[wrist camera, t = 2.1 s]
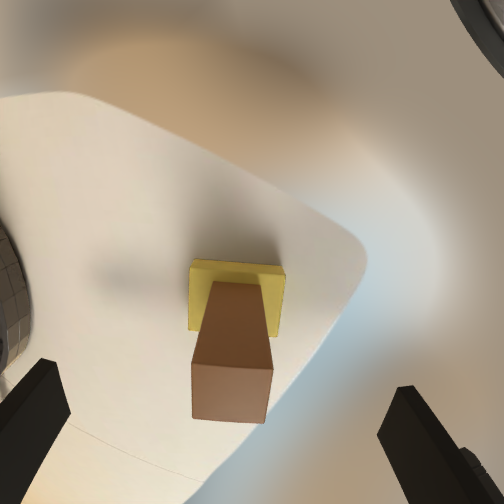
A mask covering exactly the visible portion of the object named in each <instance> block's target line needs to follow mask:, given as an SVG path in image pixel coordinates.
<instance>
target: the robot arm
mask: <svg viewBox="0 0 504 504" xmlns="http://www.w3.org/2000/svg"><path fill="white" fill-rule="evenodd" d="M478 2H479V4H480V6H481V8H482V10H483V11H484V13H485V15H486V17H487V18H488V20H489V22H490V23H491V25H492V26H493V28H494V29H495V31H496V32H497V34H498V35H499V36H500V38H501V39H502V40H503V42H504V0H478ZM70 414H71V412H70V409H69V406H68V403H67V399H66V396H65V393H64V389H63V386H62V382H61V379H60V375H59V371H58V367H57V363H56V362H54V361H50V360H47V359H43V358H41V359H40V360H39V361H38V362H37V363H36V364H35V365H34V366H33V367H32V368H31V369H30V371H29V372H28V373H27V374H26V375H25V376H24V377H23V378H22V379H21V381H20V382H19V383H18V384H17V385H16V386H15V387H14V388H13V390H12V391H11V392H10V393H9V394H8V395H7V396H6V398H5V399H4V400H3V401H2V402H1V403H0V504H20V503H21V501H22V500H23V498H24V496H25V494H26V492H27V490H28V488H29V486H30V484H31V482H32V480H33V479H34V477H35V475H36V473H37V471H38V469H39V468H40V466H41V464H42V462H43V460H44V459H45V457H46V455H47V453H48V451H49V450H50V448H51V446H52V444H53V443H54V441H55V439H56V438H57V436H58V434H59V432H60V431H61V429H62V427H63V426H64V424H65V422H66V421H67V419H68V417H69V416H70ZM377 437H378V439H379V441H380V443H381V445H382V447H383V449H384V451H385V453H386V455H387V458H388V459H389V462H390V464H391V466H392V468H393V470H394V472H395V475H396V477H397V479H398V481H399V483H400V485H401V488H402V489H403V492H404V494H405V496H406V498H407V501H408V503H409V504H504V497H503V495H502V494H501V492H500V490H499V489H498V487H497V486H496V484H495V483H494V481H493V480H492V479H491V477H490V476H489V474H488V473H486V470H485V469H484V467H483V466H481V463H480V461H479V460H478V458H477V457H476V456H475V454H473V453H472V452H471V451H469V450H468V449H466V448H465V447H463V448H461V449H459V448H458V447H457V446H456V444H455V443H454V441H453V440H452V438H451V437H450V435H449V434H448V433H447V431H446V430H445V428H444V427H443V426H442V424H441V423H440V421H439V420H438V419H437V417H436V416H435V414H434V413H433V412H432V410H431V409H430V407H429V406H428V405H427V403H426V402H425V401H424V399H423V398H422V396H421V395H420V394H419V393H418V391H417V390H416V389H415V387H414V386H413V385H412V386H404V387H398V388H397V390H396V393H395V395H394V397H393V400H392V402H391V405H390V407H389V409H388V412H387V414H386V416H385V418H384V420H383V423H382V425H381V427H380V429H379V431H378V433H377Z"/></svg>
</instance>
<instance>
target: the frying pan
mask: <svg viewBox="0 0 504 504" xmlns="http://www.w3.org/2000/svg"><path fill="white" fill-rule="evenodd" d="M29 334H30V307H29V302H28V295H27V289H26V285H25V282H24V278H23V275H22V272H21V268H20V265H19V262H18V260H17V258H16V255H15V253H14V251H13V249H12V247H11V244H10V242H9V240H8V238H7V236H6V234H5V233H4V231H3V230H2V228H1V226H0V376H1V375H2V374H3V373H4V372H5V371H6V370H7V369H8V368H9V367H10V366H11V365H12V364H13V363H14V362H15V361H16V360H17V359H18V358H19V357H20V355H21V354H22V353H23V351H24V350H25V348H26V345H27V341H28V338H29Z"/></svg>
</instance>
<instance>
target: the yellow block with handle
mask: <svg viewBox="0 0 504 504" xmlns="http://www.w3.org/2000/svg"><path fill="white" fill-rule="evenodd" d="M285 278H286V275H285V272H284V270H283V268H282V266H276V265H263V264H251V263H239V262H226V261H214V260H203V259H194V261H193V263H192V264H191V266H190V269H189V307H188V330H189V331H199V335H198V339H197V343H196V346H195V350H194V354H193V358H192V362H191V386H192V418H193V419H201V420H211V421H223V422H238V423H260V424H262V423H264V422H265V418H266V412H267V406H268V400H269V394H270V388H271V382H272V376H273V370H274V369H273V362H272V355H271V349H270V342H269V337H277V336H278V329H279V322H280V315H281V307H282V300H283V293H284V285H285Z"/></svg>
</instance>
